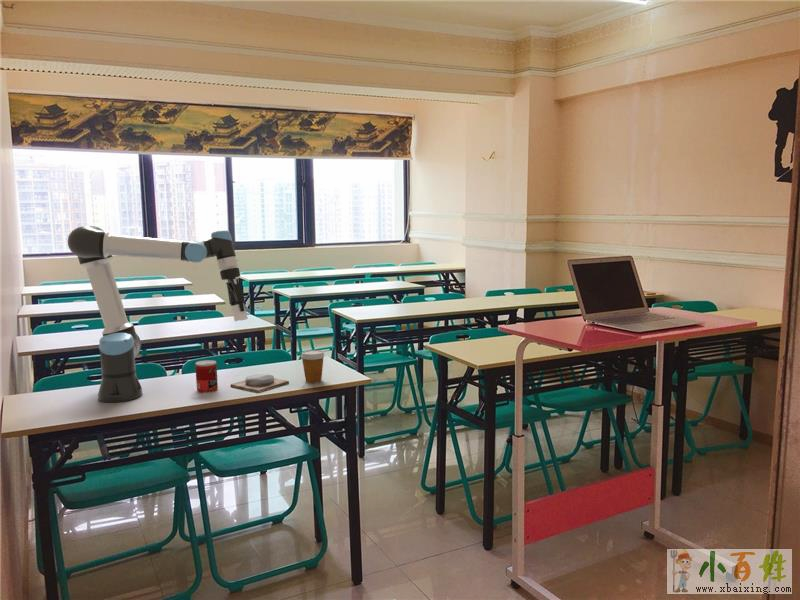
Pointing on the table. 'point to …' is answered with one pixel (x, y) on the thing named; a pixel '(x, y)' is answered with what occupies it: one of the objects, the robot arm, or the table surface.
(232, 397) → the table surface
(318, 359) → the disposable coffee cup
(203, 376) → the canned food
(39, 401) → the table surface
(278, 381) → the seat plate
